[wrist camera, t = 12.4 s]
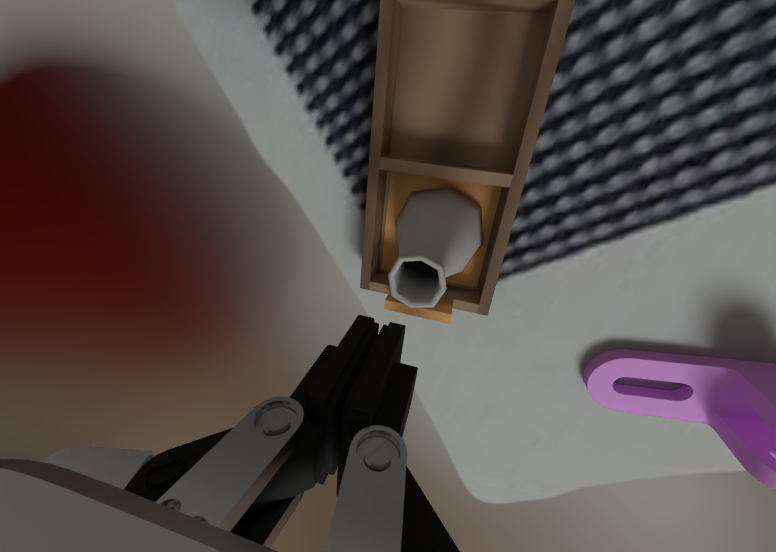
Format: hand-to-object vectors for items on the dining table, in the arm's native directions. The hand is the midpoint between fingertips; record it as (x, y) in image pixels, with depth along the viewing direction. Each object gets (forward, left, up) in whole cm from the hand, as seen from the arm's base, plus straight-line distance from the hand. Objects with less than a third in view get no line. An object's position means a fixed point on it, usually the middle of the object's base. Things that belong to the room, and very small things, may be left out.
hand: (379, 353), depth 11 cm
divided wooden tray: (0, -5, -17) cm, 18 cm away
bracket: (-21, +10, -18) cm, 29 cm away
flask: (0, 0, -16) cm, 16 cm away
